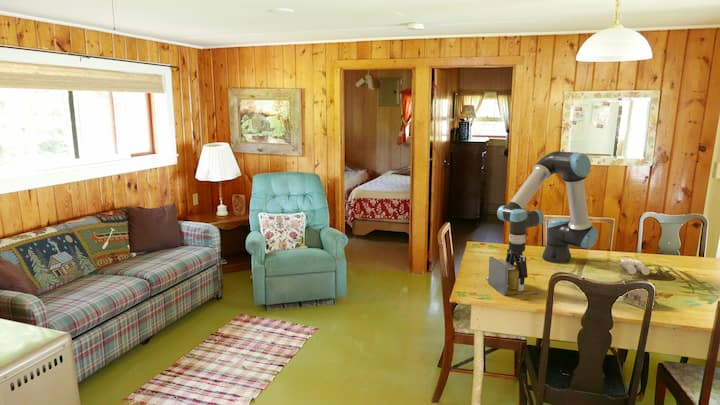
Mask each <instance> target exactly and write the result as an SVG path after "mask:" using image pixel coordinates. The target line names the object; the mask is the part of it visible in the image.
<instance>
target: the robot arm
mask: <svg viewBox="0 0 720 405" xmlns="http://www.w3.org/2000/svg"><path fill="white" fill-rule="evenodd" d="M591 164H592V163H591V159H590V158H589V156H588V155H587V154H585V153H581V152H577V151H575V152H572V151H570V152H569V151H561V150H555V151H552V152H550V153H547V154H546V155H544V156H543V157H541V158H540V159H539V160H538V161H537V162H536V164H535V165H534V166H533V171H532V172H531V174H529V176H528V177H527V178H526V180H525V181H524V182H523V184H522V185H521V186H520V188H518V190H517V192H516V193H515V194H514V196H512V198H511V199H510V200H509V202H508V203H507V205H501V206H499V207H498V209H497V211H496V212H497V213H496V216H497V218H498V219H499V220H501V221H503V222H507V223H508V222H509V235H508V239H509V240H508V241H509V242H508V248H507V249H506V257H505V261H506V262H508V263H510V264H511V265H514V264H516V265H517V268H518V272H519V277H518V289H517V292H522V291H523V292H524V290H525V279H528V275H529V274H528V267H527V266H528V265H527V256H524V253H523V252H524V251H526V242H527V240H526V239H527V229H528V228H529V229H530V228H532V227H533V228H535V227H538V226H540V225H541V224H542V223H543V222H544V220H545V219H544V214H543V213H542V211H540V210H538V209H534V210H528V209H525V208H526V206H527V205H528V204H529V203H530V200H531V199H532V198H533V197H534V196H535V194H536V193H537V191H538V190H539V189H540V188H541V187H542V185H543V184H544V183H545V180H547V179H549V178H551V176H553V175H554V174H557V175H560V176H561V179H562V182H564V183H565V185H566V195H567V201H568V210H569V216H570V217H569V218H570V219H568V218H553V219H550V220H549V221H547V227H546V228H547V231H546V232H547V233H546V244H545V245H546V246H545V248H544V250H543V253H542V260H544V261H546V262H550V263H554V264H566V263H571V261H572V255H571V251H570V247H569V245H570V246H573V247H578V248H581V249H587V250H588V249H589V250H590V249H591V248H593V246H594V245H595V244H596V242H597V240H598V236H599V230H598V229H597V228H596V227H594V226H593V222H592V221H591V220H590V219H589V215H588V214H589V212H588V204H587V194H586V187H585V180H586V179H587V176H588V175H590V172H591V168H592V165H591Z"/></svg>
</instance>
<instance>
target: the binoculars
mask: <svg viewBox="0 0 720 405" xmlns="http://www.w3.org/2000/svg"><path fill="white" fill-rule="evenodd" d="M620 263H621V266H622V267H623V269H625V270H626V271H627V272H628V274H629V275H635V274H637V271H638V272H641V274H642V275H644V276H648V275H649V274H650V273H651V269H650V268H649V267H647V266H646V265H645V264H644V263H643V262H642V261H640V260H638V259H633V258H628V259H624V258H623V259H621V260H620Z"/></svg>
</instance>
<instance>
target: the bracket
mask: <svg viewBox="0 0 720 405" xmlns="http://www.w3.org/2000/svg"><path fill="white" fill-rule="evenodd" d="M488 259H489V261H488V277H487V278H488V280H487V281H488V282H487V283H488V285H489V286H490V287H492V288H493V289H494V290H495V291H496V292H498V293H499V294H500V295H502V296H503V297H514V296H515V297H516V296H523V295H534V294H535V295H536V294H540V292H539V291H531V292H530V291H529V292H520V293H511V294H510V293H509V294H508V285H507V283H508V270H513V269H515V267H514V266H513V265H511V264H510V263H508V262H506V259H504V258H495V257H494V256H489V258H488Z"/></svg>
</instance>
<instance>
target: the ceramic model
mask: <svg viewBox="0 0 720 405" xmlns="http://www.w3.org/2000/svg"><path fill="white" fill-rule="evenodd" d="M626 293H627V292H626ZM626 293H625V294H626ZM625 294H623V295H622V299H623V302H625V303H626V304H629V305H633V306H635V307H637V308H639V309H643V310H646V309H645V305H646V301H647V291H646V290H642V289H639V290H634V291H631V292H629V293H627V294H626V295H625ZM657 296H658V292H657V291H656V290H655V297H657ZM655 310H658V302H657V300H655V299H654V305H653V310H652V311H655Z"/></svg>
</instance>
